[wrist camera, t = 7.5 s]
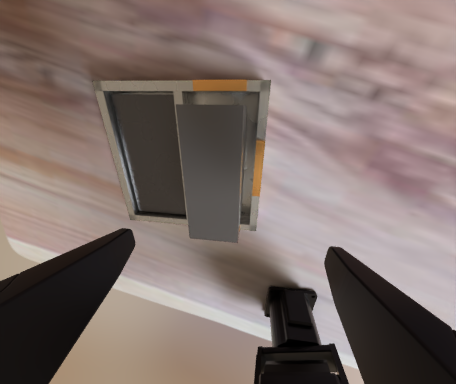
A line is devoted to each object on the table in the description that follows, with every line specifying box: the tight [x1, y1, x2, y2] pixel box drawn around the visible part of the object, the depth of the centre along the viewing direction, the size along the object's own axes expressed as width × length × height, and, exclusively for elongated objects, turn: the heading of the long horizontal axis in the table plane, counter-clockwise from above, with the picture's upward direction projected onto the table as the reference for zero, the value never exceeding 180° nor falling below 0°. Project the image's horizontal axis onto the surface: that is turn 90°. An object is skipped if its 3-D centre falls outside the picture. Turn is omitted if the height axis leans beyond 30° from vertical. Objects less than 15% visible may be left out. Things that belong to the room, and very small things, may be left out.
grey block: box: [176, 104, 247, 243], centre depth 15 cm, size 10×4×6 cm, turn 179°
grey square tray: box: [92, 80, 271, 231], centre depth 17 cm, size 13×14×3 cm
